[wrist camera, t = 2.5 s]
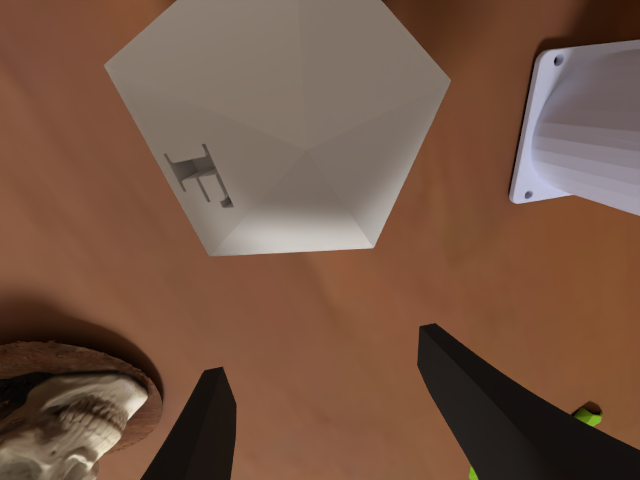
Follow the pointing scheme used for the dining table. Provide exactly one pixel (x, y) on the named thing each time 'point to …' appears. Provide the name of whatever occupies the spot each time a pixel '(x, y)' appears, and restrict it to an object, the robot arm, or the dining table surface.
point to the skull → (68, 410)
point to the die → (281, 117)
